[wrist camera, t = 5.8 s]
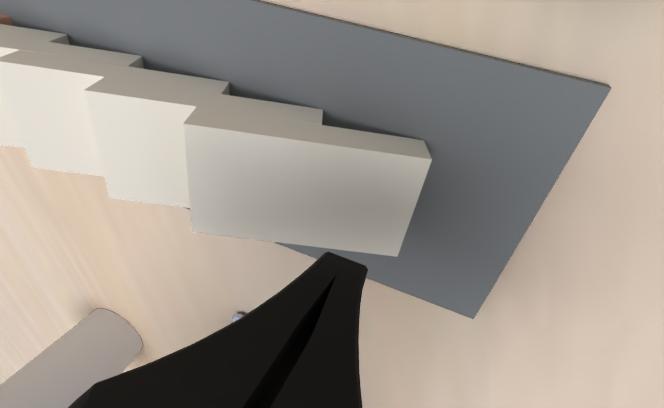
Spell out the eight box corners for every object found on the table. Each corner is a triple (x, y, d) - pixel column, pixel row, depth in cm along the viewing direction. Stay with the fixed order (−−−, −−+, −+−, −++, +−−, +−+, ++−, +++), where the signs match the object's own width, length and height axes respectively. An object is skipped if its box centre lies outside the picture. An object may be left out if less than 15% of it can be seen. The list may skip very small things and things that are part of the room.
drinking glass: (130, 312, 33) (14, 421, 25) (156, 361, 36) (61, 471, 29) (78, 298, 35) (-43, 395, 28) (107, 346, 39) (7, 443, 31)
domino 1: (128, 65, 17) (-95, 33, 16) (143, 162, 20) (-44, 139, 19) (142, 55, 18) (-63, 25, 17) (154, 148, 21) (-20, 126, 20)
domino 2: (220, 94, 16) (-8, 59, 15) (222, 191, 19) (31, 167, 18) (229, 81, 17) (19, 49, 16) (229, 175, 20) (51, 151, 19)
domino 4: (431, 159, 14) (183, 123, 13) (397, 256, 17) (191, 231, 16) (423, 140, 15) (196, 106, 14) (392, 233, 18) (202, 209, 17)
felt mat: (473, 313, 19) (473, 319, 19) (20, 139, 26) (14, 142, 25) (608, 85, 12) (611, 88, 12) (-59, -77, 19) (-69, -77, 18)
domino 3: (321, 124, 15) (83, 90, 14) (307, 222, 18) (109, 198, 17) (322, 109, 16) (104, 76, 15) (309, 202, 19) (125, 179, 18)
